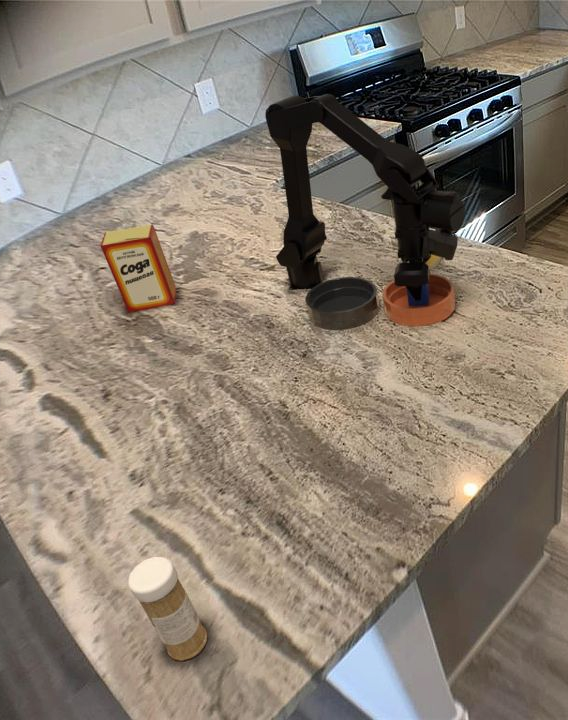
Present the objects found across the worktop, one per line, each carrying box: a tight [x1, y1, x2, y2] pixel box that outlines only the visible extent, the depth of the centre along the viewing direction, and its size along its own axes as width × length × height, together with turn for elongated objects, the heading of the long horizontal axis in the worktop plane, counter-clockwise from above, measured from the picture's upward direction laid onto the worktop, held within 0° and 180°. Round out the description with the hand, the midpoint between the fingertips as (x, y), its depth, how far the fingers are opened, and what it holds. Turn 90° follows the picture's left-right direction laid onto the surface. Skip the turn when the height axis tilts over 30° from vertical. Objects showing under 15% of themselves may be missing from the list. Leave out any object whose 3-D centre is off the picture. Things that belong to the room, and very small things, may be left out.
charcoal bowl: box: [304, 276, 380, 331], centre depth 134 cm, size 14×14×4 cm
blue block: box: [407, 284, 430, 306], centre depth 132 cm, size 4×4×4 cm
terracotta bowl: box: [382, 273, 456, 327], centre depth 133 cm, size 14×14×4 cm
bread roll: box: [400, 254, 441, 270], centre depth 150 cm, size 8×9×4 cm
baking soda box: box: [100, 224, 177, 313], centre depth 139 cm, size 10×6×16 cm
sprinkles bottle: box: [127, 556, 208, 662], centre depth 73 cm, size 5×5×13 cm
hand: (418, 294), depth 133 cm, fingers closed on blue block, 4 cm apart
